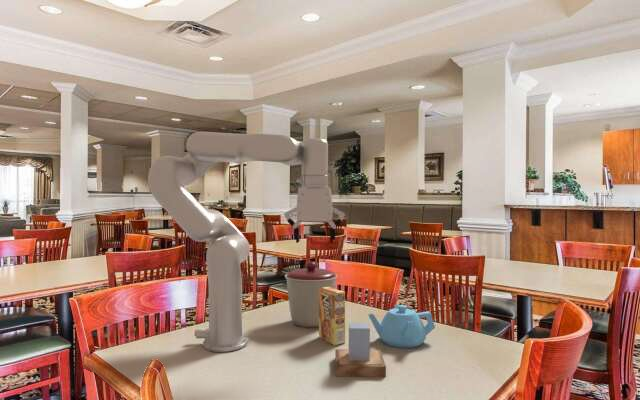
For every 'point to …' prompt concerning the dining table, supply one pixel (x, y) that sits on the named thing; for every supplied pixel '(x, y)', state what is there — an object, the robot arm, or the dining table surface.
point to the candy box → (332, 315)
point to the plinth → (360, 364)
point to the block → (359, 341)
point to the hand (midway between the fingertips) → (314, 242)
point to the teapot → (403, 327)
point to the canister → (307, 293)
